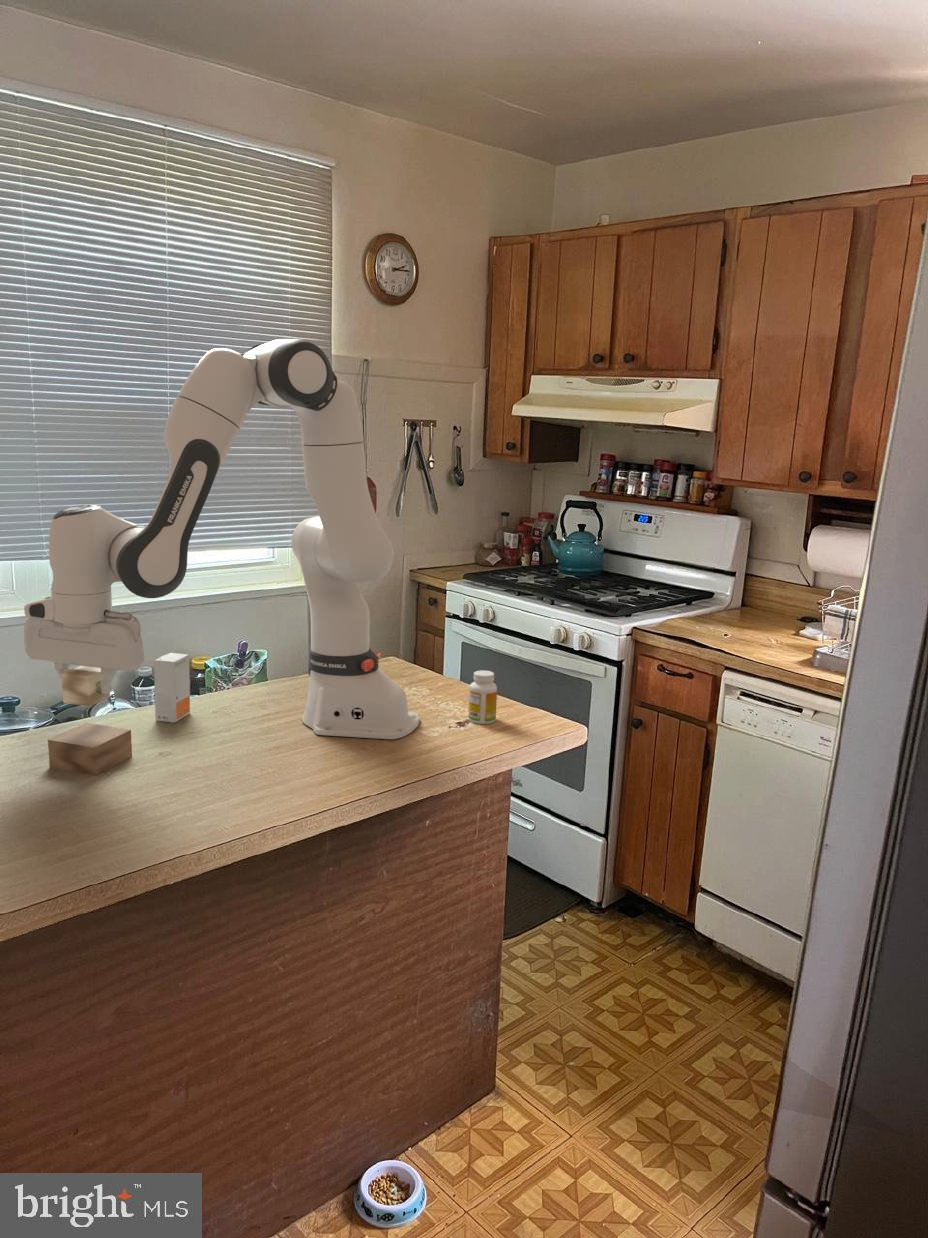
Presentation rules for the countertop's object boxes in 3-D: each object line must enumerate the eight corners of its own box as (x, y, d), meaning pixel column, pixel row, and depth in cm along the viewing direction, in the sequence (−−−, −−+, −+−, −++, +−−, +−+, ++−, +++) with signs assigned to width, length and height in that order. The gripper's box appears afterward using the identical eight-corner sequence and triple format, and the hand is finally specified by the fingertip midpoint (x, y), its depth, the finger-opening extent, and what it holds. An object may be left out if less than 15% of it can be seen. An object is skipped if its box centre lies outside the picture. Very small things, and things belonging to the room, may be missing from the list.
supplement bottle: (495, 716, 179) (497, 669, 177) (495, 725, 174) (498, 677, 172) (468, 715, 179) (470, 668, 177) (468, 724, 174) (470, 676, 172)
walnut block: (132, 757, 152) (130, 729, 151) (96, 777, 143) (94, 747, 142) (87, 750, 154) (86, 722, 153) (49, 768, 146) (47, 739, 145)
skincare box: (175, 723, 168) (173, 662, 165) (154, 721, 169) (152, 660, 166) (191, 713, 174) (189, 654, 171) (171, 711, 175) (169, 652, 172)
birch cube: (109, 697, 148) (108, 668, 147) (90, 706, 143) (88, 676, 142) (83, 694, 149) (82, 665, 148) (63, 702, 144) (61, 672, 143)
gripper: (151, 610, 143) (153, 692, 146) (43, 598, 148) (47, 678, 151) (127, 617, 137) (130, 703, 140) (15, 605, 142) (20, 688, 145)
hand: (86, 690), depth 146 cm, fingers closed on birch cube, 5 cm apart
